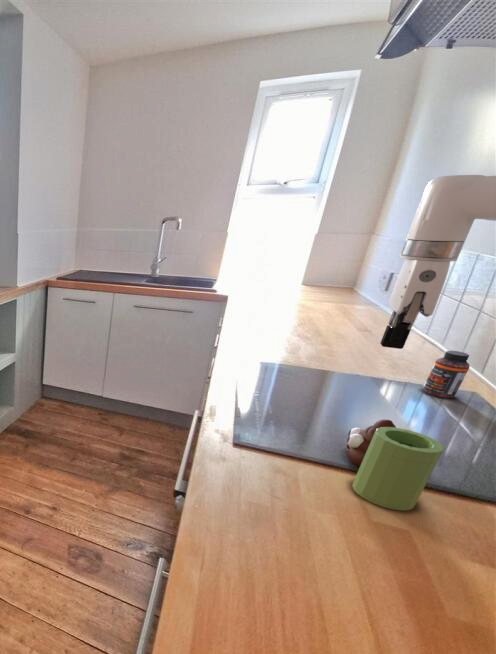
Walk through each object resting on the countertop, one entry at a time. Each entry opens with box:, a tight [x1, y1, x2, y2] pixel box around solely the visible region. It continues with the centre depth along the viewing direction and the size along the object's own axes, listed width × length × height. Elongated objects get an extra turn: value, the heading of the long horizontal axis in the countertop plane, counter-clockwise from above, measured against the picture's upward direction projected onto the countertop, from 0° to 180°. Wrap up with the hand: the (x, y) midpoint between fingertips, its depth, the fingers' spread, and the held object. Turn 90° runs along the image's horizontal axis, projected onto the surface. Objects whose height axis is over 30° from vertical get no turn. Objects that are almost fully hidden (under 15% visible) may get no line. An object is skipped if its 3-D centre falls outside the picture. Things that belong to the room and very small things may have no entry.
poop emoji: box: [345, 418, 397, 468], centre depth 77 cm, size 10×8×9 cm
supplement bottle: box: [422, 350, 471, 399], centre depth 104 cm, size 6×6×11 cm
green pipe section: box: [352, 427, 445, 512], centre depth 67 cm, size 8×8×11 cm
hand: (391, 346), depth 82 cm, fingers closed
